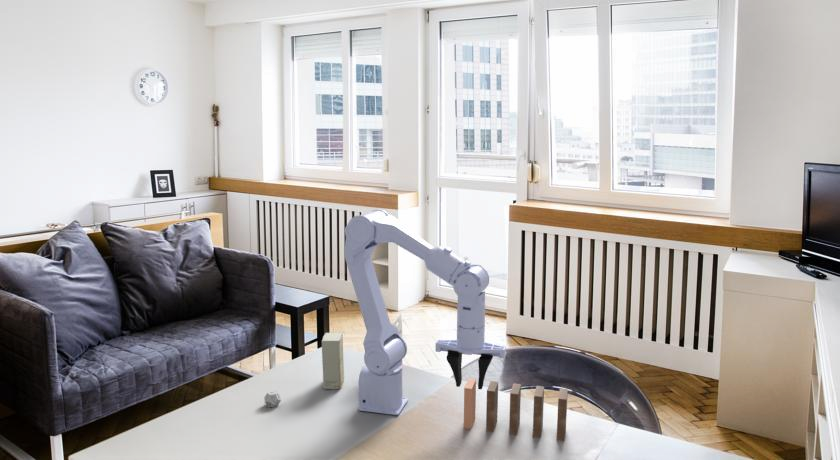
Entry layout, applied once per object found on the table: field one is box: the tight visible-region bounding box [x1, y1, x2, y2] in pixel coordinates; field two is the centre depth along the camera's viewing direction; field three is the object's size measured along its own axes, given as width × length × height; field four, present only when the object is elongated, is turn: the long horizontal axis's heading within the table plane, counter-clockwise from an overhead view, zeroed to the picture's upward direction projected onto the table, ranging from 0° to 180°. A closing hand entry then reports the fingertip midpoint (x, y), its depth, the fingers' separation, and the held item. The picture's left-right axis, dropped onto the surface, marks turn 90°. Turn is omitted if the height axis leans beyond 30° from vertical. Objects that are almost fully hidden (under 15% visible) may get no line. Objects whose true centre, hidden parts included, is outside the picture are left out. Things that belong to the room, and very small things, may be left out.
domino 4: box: [556, 387, 569, 442], centre depth 136 cm, size 2×5×9 cm, turn 165°
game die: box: [263, 390, 282, 408], centre depth 150 cm, size 4×4×3 cm
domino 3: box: [532, 385, 545, 439], centre depth 137 cm, size 2×5×9 cm, turn 165°
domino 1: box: [485, 380, 499, 433], centre depth 140 cm, size 2×5×9 cm, turn 165°
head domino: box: [463, 378, 477, 430], centre depth 141 cm, size 2×5×9 cm, turn 165°
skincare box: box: [321, 332, 345, 390], centre depth 160 cm, size 6×4×12 cm
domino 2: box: [508, 382, 522, 436], centre depth 139 cm, size 2×5×9 cm, turn 165°
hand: (469, 386), depth 140 cm, fingers open, 4 cm apart
